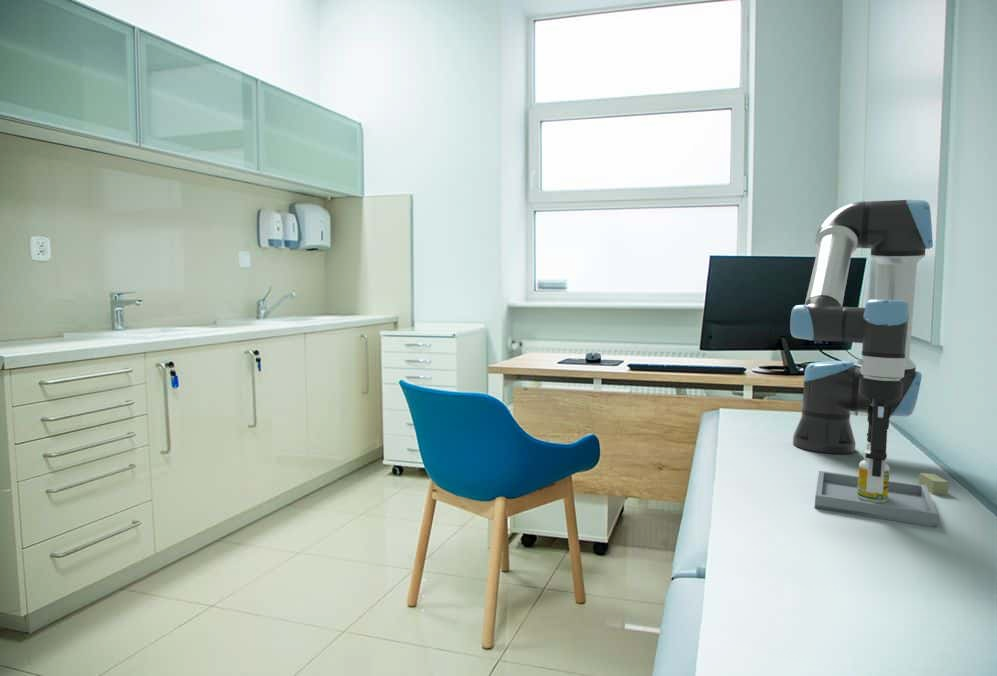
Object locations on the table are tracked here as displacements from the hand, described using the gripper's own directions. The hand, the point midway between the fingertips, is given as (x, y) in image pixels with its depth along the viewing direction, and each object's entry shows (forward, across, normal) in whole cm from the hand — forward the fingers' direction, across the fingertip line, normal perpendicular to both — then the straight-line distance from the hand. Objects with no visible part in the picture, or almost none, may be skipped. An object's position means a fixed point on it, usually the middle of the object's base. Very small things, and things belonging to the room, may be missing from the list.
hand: (873, 483), depth 134 cm
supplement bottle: (+4, 0, 0) cm, 4 cm away
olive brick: (+4, -17, +12) cm, 21 cm away
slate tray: (+4, 0, 0) cm, 4 cm away
